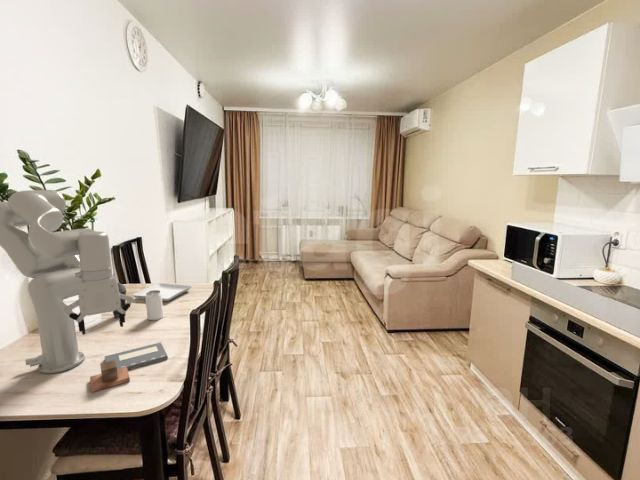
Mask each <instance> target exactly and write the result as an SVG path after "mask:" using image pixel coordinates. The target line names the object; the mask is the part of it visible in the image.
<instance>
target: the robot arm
mask: <svg viewBox="0 0 640 480" xmlns="http://www.w3.org/2000/svg"><path fill="white" fill-rule="evenodd" d="M66 208H67V203H66V199H65V197H64V196H63V195H62V194H61V193H60V192H58V191H56V190H53V189H36V190H33V189H32V190H19V191H17V192H15V193H13V194H11V195H10V196H9V197H8V200H7V201H2V202H1V201H0V247H1V248H2V249H4V251H5V253H6V254H7V255H8V257H9V258H10V259H11V261H12V262H13V264H14V265H15V267H16V269H18V271H19V272H20V273H21V274H22V275H23V276H24V277H26V278H32V279H31V280H30V281H29V283H28V284H27V291H28V295H29V297H30V299H31V303H32V305H33V308H34V311H35V317H36V322H37V328H38V335H39V341H40V346H41V354H40V355H38V356H37V357H35V356H34V357H31V358H26V359H25V365H26V366H29V367H30V368H31V367H35V366H37V368H38V371H39V372H40V373H42V374H56V373H61V372H65V371H68V370H71V369H73V368H75V367H77V366H79V365H81V363H83V362H84V360H85V353H83V352H82V351H79V346H78V338H77V331H76V325H75V323H77V325H78V326H77V327H78V331H79V332H81V333H82V335H83V336H84V335H85V334H86V326H85V317H86V316H88V317H89V316H93V315H94V316H95V315H99V314H104V313H110V312H113V311H115V310H117V311H119V312H118V313H119V318H118V321H119V326H120V327H121V328H122V327H124V323H126V318H125V317H126V316H125V315H126V314H125V312H127V311H128V310H129V308H131V305H132V303H133V301H134V296H133V295H127V294H126V295H124V294H120V293H119V288H118V284H117V283H118V281H117V278H116V275H115V276H113V268H112V261H111V259H112V257H111V249H110V239H109V235H108V234H107V233H106V232H104V231H96V230H94V229H92V228H87V227H86V228H77V229H69V230H67V229H66V230H60V231H59V230H58V229H59V228H60V227H61V226H62V225H63V222H64V215H63V214H64V212H65V211H66ZM24 226H28V227H29V228H28V232H26V231H24V230H22V229H19V228H16V227H24ZM57 230H58V231H57ZM76 296H78V300H77V299H76V301H73V302H72V303H70V304H66V303H65V302H64V300H66V299H69V298H72V297H76ZM120 299H124V300H126V304H125V305H124V306H123V307H122V306H121V302H120ZM78 307H79V313H78V314H77V313H76V312H74V311H73V310H74V309H75V308H78ZM124 314H125V315H124Z"/></svg>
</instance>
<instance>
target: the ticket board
mask: <svg viewBox="0 0 640 480" xmlns="http://www.w3.org/2000/svg"><path fill="white" fill-rule="evenodd" d="M168 358H169V357H168V353H167V352H166V350H165V348H164V346H163V344H162V342H157V343H152V344H148V345H144V346H140V347H136V348H133V349H128V350H124V351H120V352H116V353H113V354H112V353H111V354H108V355H105V356H104V363H105V362H108V361H112V360H115V362H116V367H117V369H120V368H124V367H127V370H128V371H129V370H133V369H136V368H140V367H144V366H148V365H151V364H154V363H159V362H162V361H165V360H168Z"/></svg>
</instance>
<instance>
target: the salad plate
mask: <svg viewBox="0 0 640 480" xmlns="http://www.w3.org/2000/svg"><path fill="white" fill-rule="evenodd" d="M191 288H192V285H184V284H174V283H163V282H162V283H156V284H155V285H151V286H150V287H147V288H145V289H142V290H140V291H137V292H135V293H133V294H132V297H133V298H136V299H140V300H145V301H146V293H147V292H149V291H153V290H159V291H160V293H161V295H162V302H169V301H171V300H173V299H174V298H176V297H179V296H180V295H182V294H184V293H186V292H188V291H189V290H190V289H191Z"/></svg>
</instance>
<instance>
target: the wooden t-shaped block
mask: <svg viewBox="0 0 640 480" xmlns="http://www.w3.org/2000/svg"><path fill="white" fill-rule="evenodd" d="M99 365H100V373H99V374H95V375H91V376H89V377H90V378H89V381H90V391H91V393H94V392H98V391H100V390H104V389H107V388H110V387H114V386H118V385H120V384H124V383H128V382H131V379H130V375H129V370H127V367H124V368H120V369H117V367H116V362H115V360H112V361H108V362H105V361H104V362H101V363H100V364H99Z"/></svg>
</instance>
